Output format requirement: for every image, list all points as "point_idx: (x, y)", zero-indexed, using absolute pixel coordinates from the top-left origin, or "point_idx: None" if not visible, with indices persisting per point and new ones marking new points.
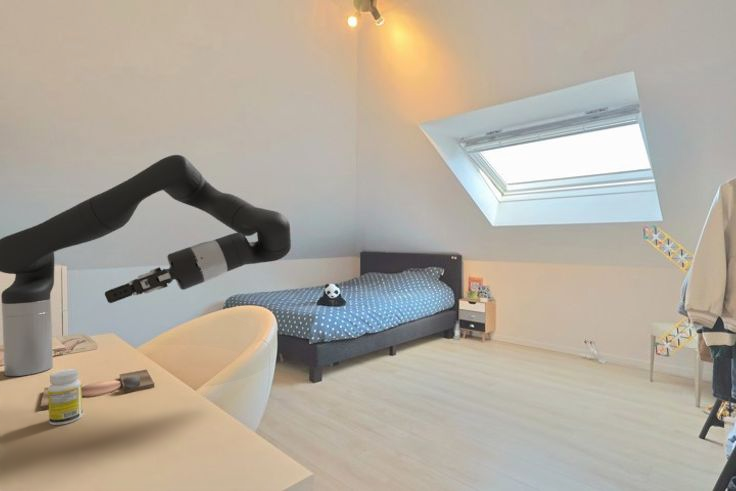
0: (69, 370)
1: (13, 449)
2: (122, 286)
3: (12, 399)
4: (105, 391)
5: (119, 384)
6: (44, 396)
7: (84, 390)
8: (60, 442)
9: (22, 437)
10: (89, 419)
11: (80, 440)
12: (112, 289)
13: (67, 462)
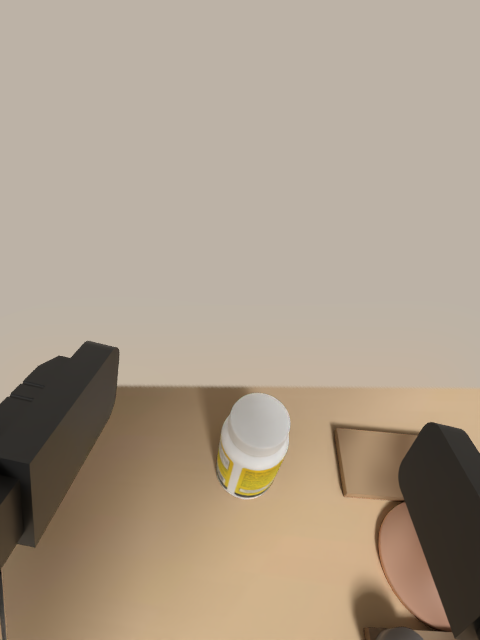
0: (272, 430)
1: (161, 393)
2: (22, 424)
3: (431, 395)
4: (387, 569)
5: (442, 622)
6: (401, 436)
7: None
8: (125, 452)
9: (206, 404)
10: (210, 511)
11: (101, 483)
12: (63, 367)
13: None
